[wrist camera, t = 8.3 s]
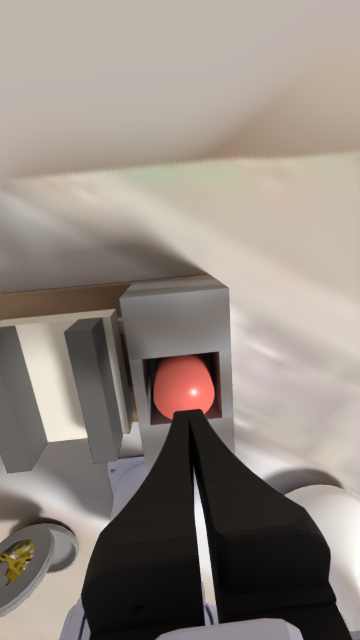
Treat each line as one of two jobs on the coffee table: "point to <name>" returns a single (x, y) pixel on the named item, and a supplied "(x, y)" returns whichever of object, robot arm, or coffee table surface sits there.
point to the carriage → (62, 386)
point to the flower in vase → (337, 541)
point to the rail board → (153, 339)
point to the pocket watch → (32, 560)
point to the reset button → (182, 384)
